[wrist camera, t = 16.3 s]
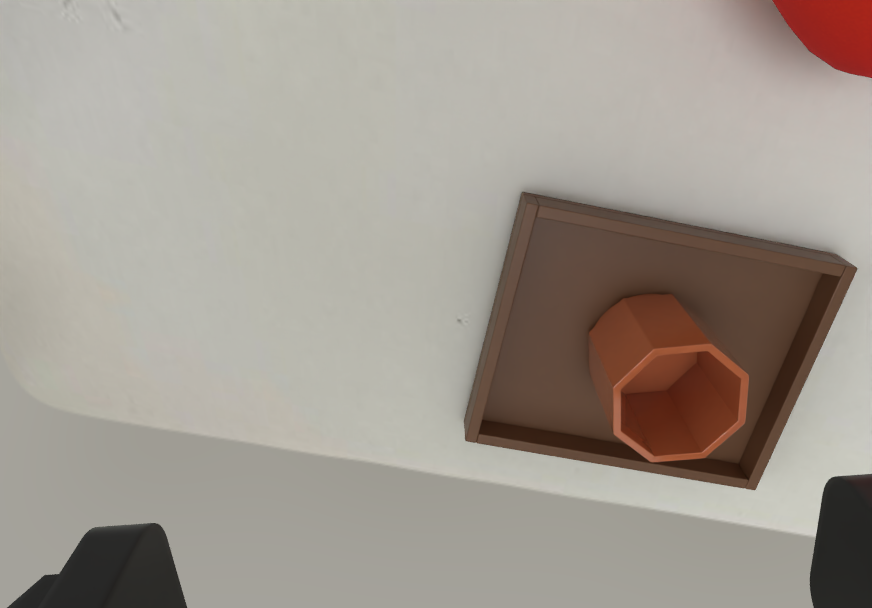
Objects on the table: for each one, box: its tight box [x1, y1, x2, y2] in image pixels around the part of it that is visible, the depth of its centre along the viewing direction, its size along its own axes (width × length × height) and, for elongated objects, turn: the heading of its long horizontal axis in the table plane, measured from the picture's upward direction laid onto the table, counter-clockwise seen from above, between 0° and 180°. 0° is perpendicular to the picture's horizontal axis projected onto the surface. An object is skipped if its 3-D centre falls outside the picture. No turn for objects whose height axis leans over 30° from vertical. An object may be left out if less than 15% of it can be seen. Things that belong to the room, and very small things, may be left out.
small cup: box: [588, 294, 749, 462], centre depth 35 cm, size 6×6×6 cm
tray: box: [464, 192, 857, 490], centre depth 37 cm, size 16×13×2 cm
